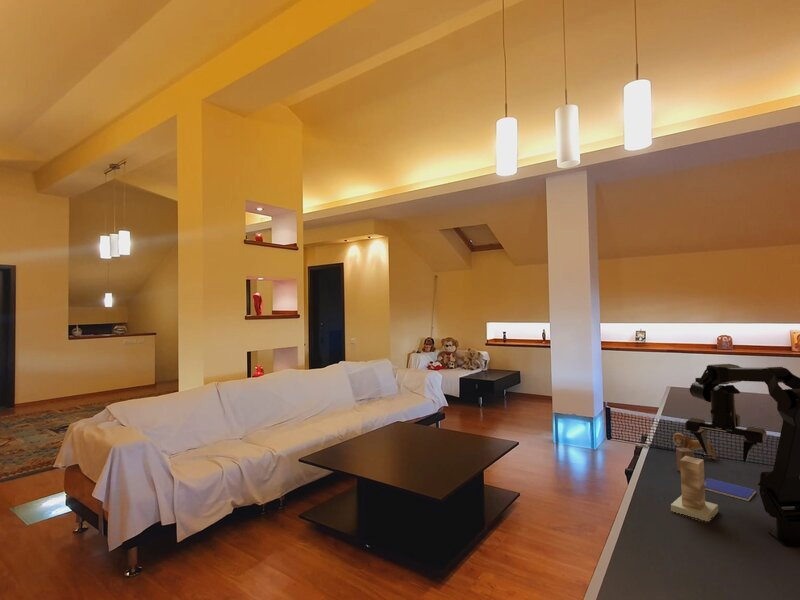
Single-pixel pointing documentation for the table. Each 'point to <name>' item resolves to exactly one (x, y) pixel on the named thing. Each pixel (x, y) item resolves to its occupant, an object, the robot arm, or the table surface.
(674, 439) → the lion figurine
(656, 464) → the table surface
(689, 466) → the maple post
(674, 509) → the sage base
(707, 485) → the hard drive
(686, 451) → the wooden block
